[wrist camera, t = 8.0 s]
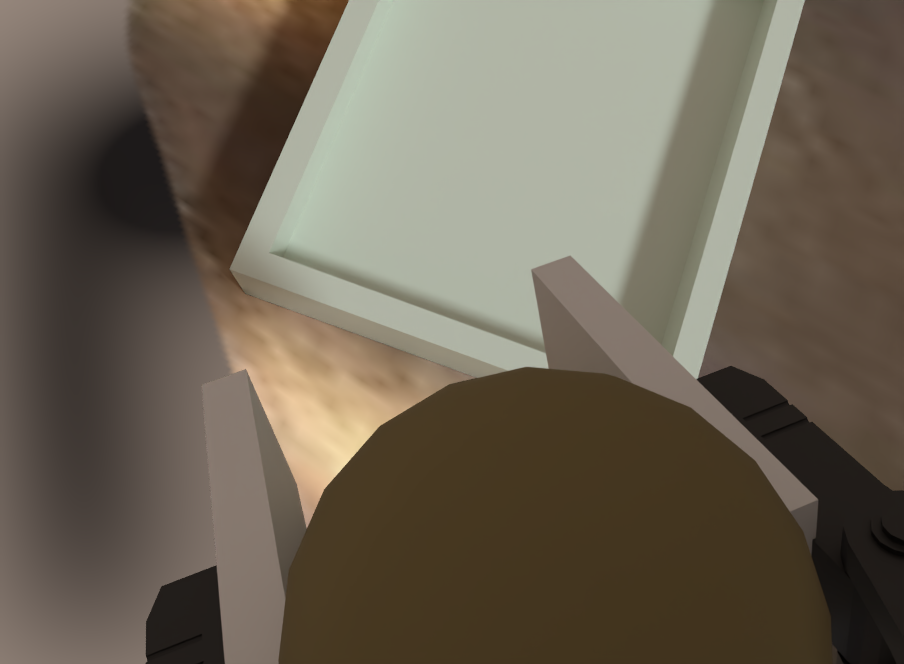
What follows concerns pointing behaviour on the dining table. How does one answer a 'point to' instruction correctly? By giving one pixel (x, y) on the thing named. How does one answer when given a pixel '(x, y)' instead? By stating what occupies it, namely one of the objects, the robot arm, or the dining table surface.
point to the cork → (552, 538)
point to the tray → (519, 169)
